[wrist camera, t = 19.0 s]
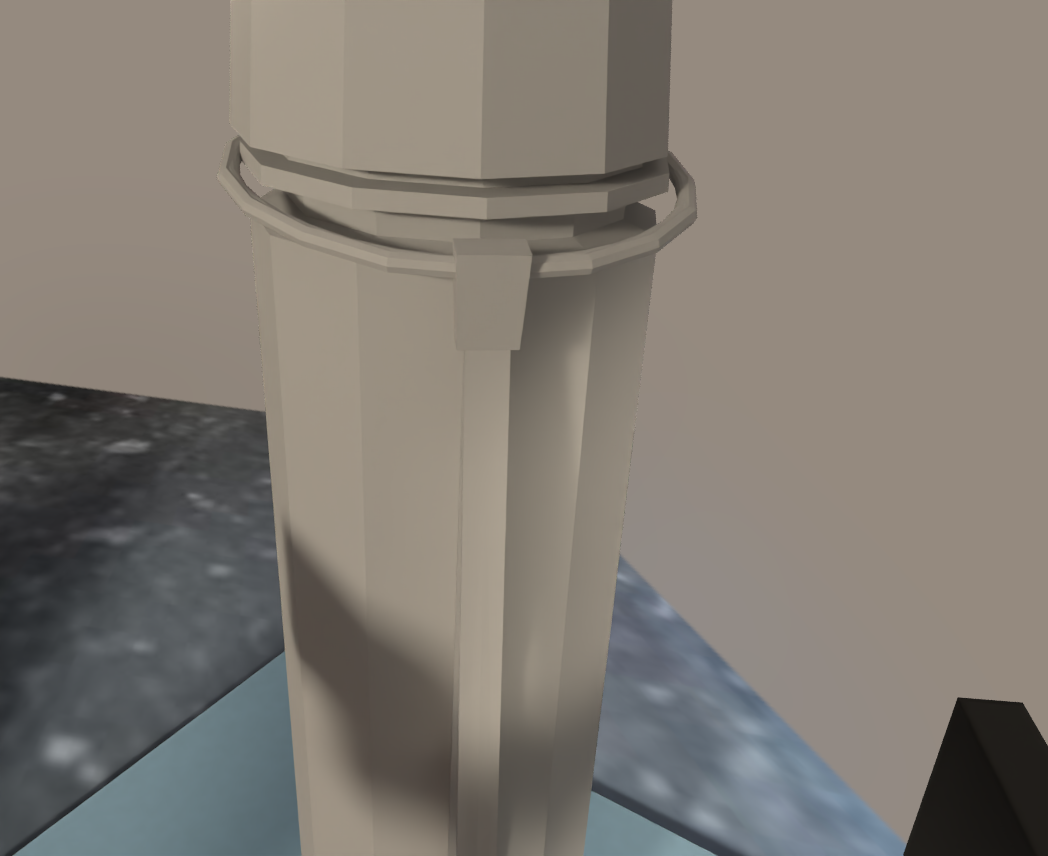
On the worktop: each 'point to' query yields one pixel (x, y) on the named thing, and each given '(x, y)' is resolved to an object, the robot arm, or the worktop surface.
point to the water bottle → (450, 392)
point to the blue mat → (255, 793)
